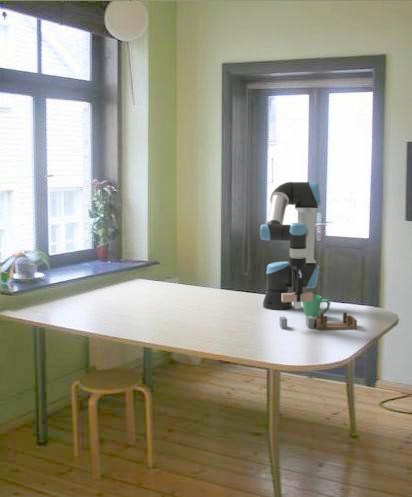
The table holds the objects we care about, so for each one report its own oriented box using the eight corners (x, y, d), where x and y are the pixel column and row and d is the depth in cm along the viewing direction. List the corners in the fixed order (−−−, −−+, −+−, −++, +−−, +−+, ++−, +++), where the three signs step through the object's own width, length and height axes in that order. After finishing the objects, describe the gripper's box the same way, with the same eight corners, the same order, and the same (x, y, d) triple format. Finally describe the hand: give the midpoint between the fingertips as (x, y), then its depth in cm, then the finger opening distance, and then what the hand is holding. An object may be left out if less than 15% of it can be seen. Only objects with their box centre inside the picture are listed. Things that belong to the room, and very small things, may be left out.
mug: (297, 317, 351) (298, 297, 350) (306, 313, 359) (306, 293, 358) (325, 321, 343) (326, 300, 342) (333, 317, 352) (334, 297, 350)
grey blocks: (279, 326, 334) (279, 316, 333) (311, 325, 336) (311, 315, 335) (281, 328, 329) (281, 319, 329) (313, 327, 331) (314, 318, 330)
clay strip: (281, 300, 332) (281, 293, 331) (311, 299, 333) (311, 292, 333) (282, 302, 329) (282, 294, 328) (312, 301, 330) (312, 293, 330)
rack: (313, 325, 336) (313, 312, 335) (351, 324, 337) (351, 311, 336) (318, 330, 327) (318, 317, 326) (356, 329, 328) (357, 316, 328)
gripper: (286, 254, 335) (285, 303, 339) (293, 260, 319) (292, 311, 323) (301, 254, 336) (301, 303, 340) (310, 260, 320) (309, 311, 324)
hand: (297, 307), depth 331 cm, fingers closed on clay strip, 3 cm apart
